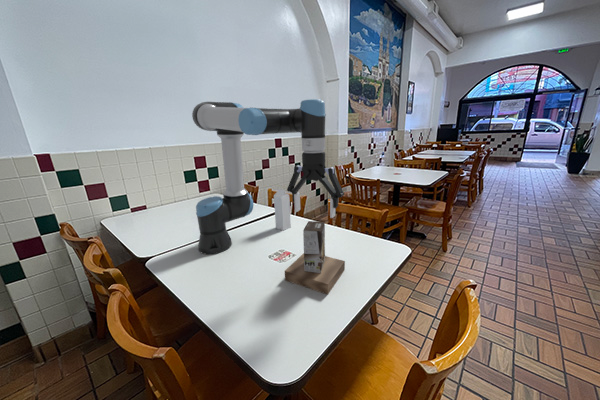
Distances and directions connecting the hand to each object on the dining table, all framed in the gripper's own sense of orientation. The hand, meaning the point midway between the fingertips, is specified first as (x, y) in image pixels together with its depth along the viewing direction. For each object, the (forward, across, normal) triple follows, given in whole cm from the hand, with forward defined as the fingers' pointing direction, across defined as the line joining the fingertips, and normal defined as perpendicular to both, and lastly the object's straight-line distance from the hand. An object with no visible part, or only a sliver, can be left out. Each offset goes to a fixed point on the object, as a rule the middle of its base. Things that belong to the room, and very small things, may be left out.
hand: (314, 213), depth 84 cm
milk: (+25, -36, +32) cm, 54 cm away
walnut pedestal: (+25, 0, 0) cm, 25 cm away
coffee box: (+21, 0, 0) cm, 21 cm away
